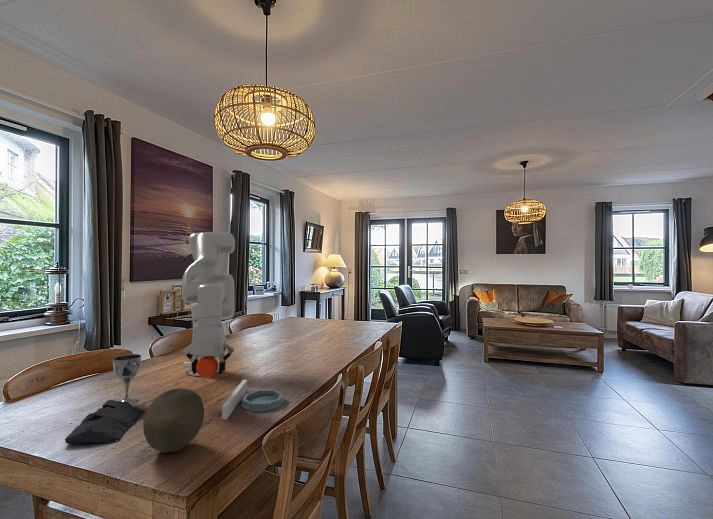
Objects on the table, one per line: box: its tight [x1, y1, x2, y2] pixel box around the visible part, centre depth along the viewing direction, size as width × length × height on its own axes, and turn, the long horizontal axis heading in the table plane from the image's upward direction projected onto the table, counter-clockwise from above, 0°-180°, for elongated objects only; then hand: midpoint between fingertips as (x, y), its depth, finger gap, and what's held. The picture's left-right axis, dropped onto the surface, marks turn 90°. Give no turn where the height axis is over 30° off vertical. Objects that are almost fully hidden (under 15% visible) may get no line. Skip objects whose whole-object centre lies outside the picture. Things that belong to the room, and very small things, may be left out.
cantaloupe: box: [142, 388, 205, 454], centre depth 88 cm, size 14×14×15 cm
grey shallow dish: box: [241, 389, 284, 413], centre depth 118 cm, size 14×14×2 cm
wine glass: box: [112, 353, 142, 404], centre depth 118 cm, size 8×8×15 cm
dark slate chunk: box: [64, 399, 145, 445], centre depth 100 cm, size 15×22×5 cm
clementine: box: [196, 356, 220, 378], centre depth 117 cm, size 8×7×7 cm
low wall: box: [221, 379, 248, 421], centre depth 117 cm, size 2×24×4 cm, turn 3°
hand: (208, 372), depth 117 cm, fingers closed on clementine, 8 cm apart
